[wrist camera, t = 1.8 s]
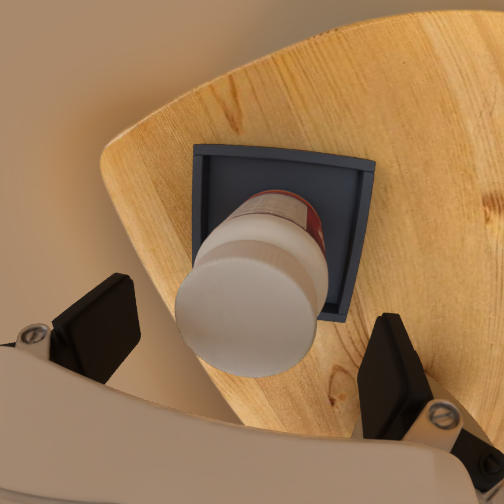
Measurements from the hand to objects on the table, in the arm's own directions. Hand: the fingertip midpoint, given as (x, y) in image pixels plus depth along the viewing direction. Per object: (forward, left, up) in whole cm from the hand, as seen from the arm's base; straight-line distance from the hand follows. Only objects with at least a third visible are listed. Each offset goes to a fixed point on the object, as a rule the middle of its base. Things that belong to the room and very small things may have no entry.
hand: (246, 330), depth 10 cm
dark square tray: (0, 0, -11) cm, 11 cm away
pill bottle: (0, 0, -11) cm, 11 cm away
